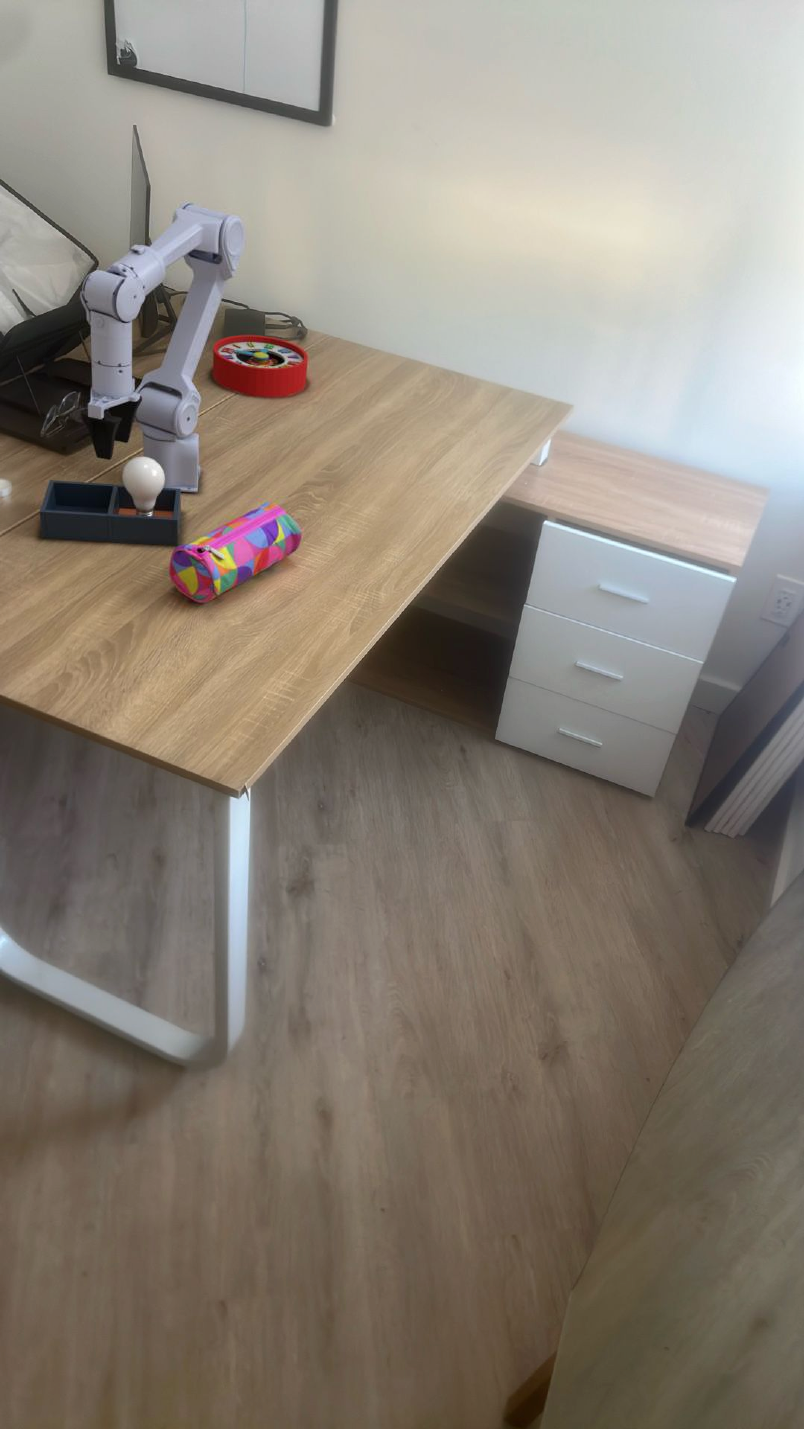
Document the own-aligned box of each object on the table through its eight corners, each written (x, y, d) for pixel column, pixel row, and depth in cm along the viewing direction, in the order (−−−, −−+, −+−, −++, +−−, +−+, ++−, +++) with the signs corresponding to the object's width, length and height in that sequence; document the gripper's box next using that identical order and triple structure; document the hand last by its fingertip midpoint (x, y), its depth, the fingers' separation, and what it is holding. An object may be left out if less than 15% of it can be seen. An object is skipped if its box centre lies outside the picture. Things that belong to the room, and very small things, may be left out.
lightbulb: (173, 520, 152) (172, 456, 145) (153, 537, 147) (151, 471, 140) (137, 509, 153) (135, 445, 146) (116, 526, 148) (113, 460, 141)
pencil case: (212, 618, 134) (213, 563, 128) (162, 593, 137) (161, 538, 131) (303, 562, 149) (308, 510, 144) (256, 540, 152) (259, 489, 147)
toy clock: (296, 376, 194) (200, 358, 194) (294, 404, 197) (200, 386, 198) (316, 346, 209) (228, 329, 209) (314, 372, 213) (227, 355, 213)
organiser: (180, 513, 156) (180, 488, 153) (177, 545, 148) (177, 520, 145) (52, 505, 152) (49, 479, 149) (42, 538, 144) (39, 511, 141)
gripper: (121, 380, 133) (122, 471, 141) (154, 353, 145) (152, 439, 153) (72, 370, 133) (75, 461, 141) (108, 344, 145) (110, 430, 153)
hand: (112, 449), depth 147 cm, fingers open, 7 cm apart
